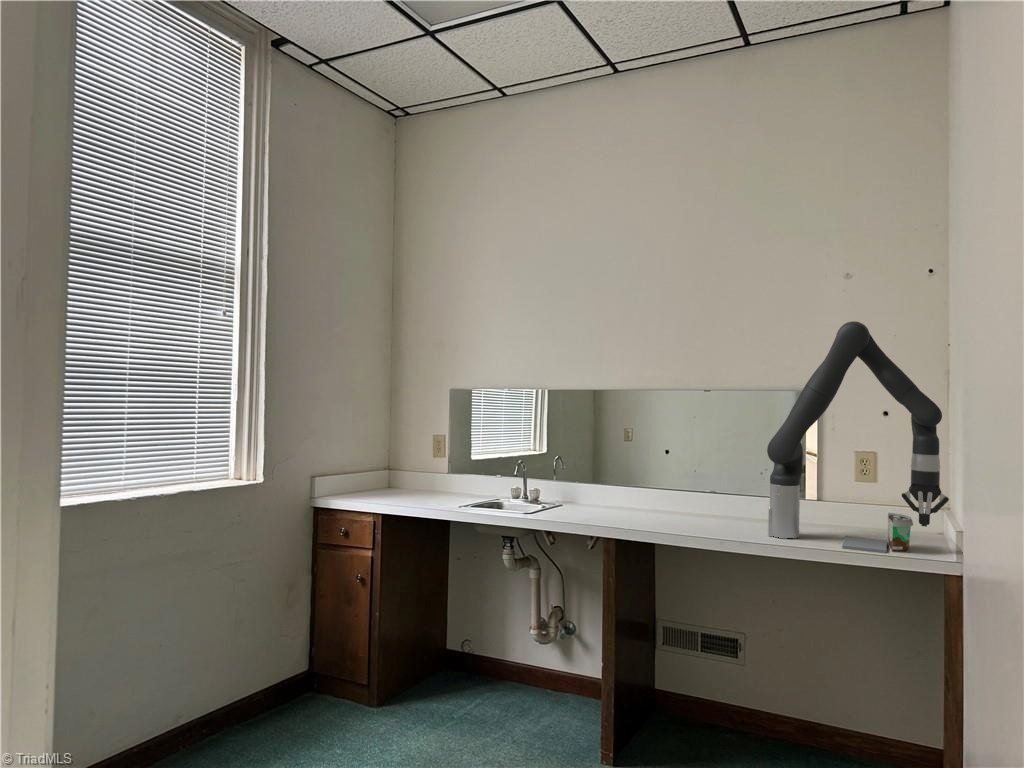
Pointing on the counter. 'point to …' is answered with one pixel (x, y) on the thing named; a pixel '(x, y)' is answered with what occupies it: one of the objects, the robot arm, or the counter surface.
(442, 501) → the counter surface
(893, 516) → the food container
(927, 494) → the robot arm
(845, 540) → the mat
